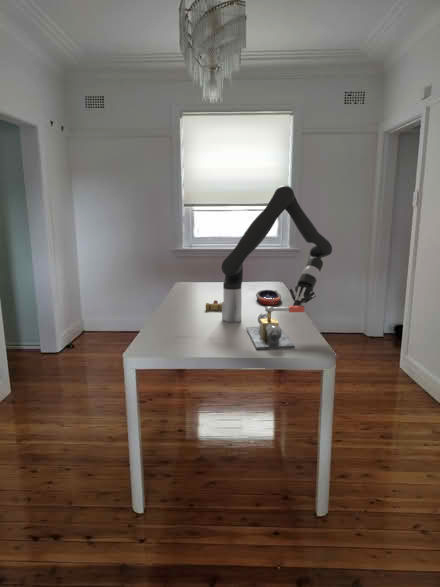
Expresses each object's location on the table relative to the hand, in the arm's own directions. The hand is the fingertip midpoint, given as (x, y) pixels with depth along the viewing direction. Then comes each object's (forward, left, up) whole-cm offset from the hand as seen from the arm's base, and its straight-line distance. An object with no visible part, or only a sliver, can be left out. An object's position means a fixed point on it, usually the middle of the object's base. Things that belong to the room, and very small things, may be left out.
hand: (295, 308), depth 168 cm
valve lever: (-3, -5, 0) cm, 6 cm away
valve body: (-8, -9, -13) cm, 18 cm away
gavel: (-63, +19, -14) cm, 67 cm away
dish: (-46, +50, -13) cm, 69 cm away
